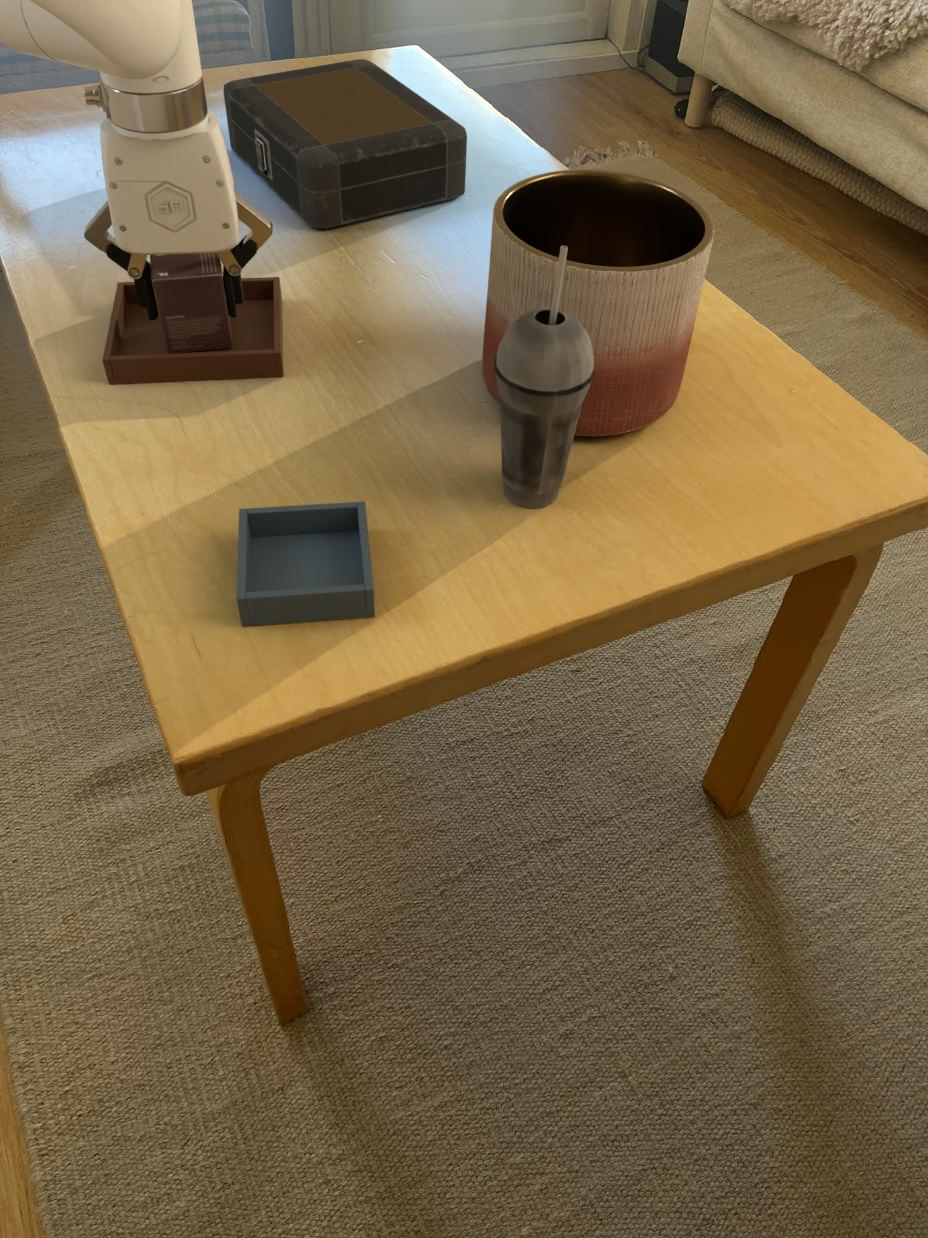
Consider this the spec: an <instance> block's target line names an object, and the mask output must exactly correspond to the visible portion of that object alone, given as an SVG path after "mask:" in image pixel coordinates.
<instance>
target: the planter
mask: <svg viewBox="0 0 928 1238" xmlns="http://www.w3.org/2000/svg"><path fill="white" fill-rule="evenodd" d="M491 221H492V222H491V237H490V238H491V239H490V250H489V251H490V252H489V264H488V267H489V268H488V280H487V293H486V302H485V303H486V304H485V316H484V330H483V344H482V360H481V361H482V362H481V363H482V377H483V381H484V384H485V387H486V389H487V391H488V392H489V394H490V395H491V397H492V398H493V399H494V400H495V401H496V402H497V403H498V404H499V405H500V394H499V392H498V386H497V377H496V372H495V370H494V360H495V357H496V355H497V351H498V347H499V344H500V341H501V340H502V338H503V336H504V334H505V332H506V331H507V329H508V328H509V326H510V325H511V324H512V323H513V322H514V321H515V320H516V319H518V318H519V317H520V316H522V315H523V314H525V313H527V312H529V311H532V310H535V309H541V308H551V305H552V299H553V292H554V286H555V280H556V274H557V267H558V261H559V255H560V248H561V246H567V247H568V250H567V257H566V263H565V269H564V275H563V281H562V288H561V294H560V300H559V306H558V310H561V311H563V312H566V313H568V314H570V315H571V316H573V317H574V318H575V319H576V320H578V321H579V322H580V324H581V325H582V326H583V328H584V329H585V331H586V332H587V333H588V336H589V338H590V340H591V344H592V349H593V357H594V370H595V375H594V377H593V379H592V381H591V383H590V386H589V389H588V391H587V394H586V396H585V399H584V401H583V403H582V406H581V410H580V414H579V418H578V422H577V426H576V430H575V434H574V437H586V438H595V437H610V436H616V435H617V436H618V435H622V434H626V433H630V432H633V431H637V430H639V429H643V428H645V427H647V426H649V425H652V424H653V423H656V422H657V421H658V420H660V419H661V418H662V417H663V416H665V415H666V414H667V413H668V412H669V411H670V410H671V408H672V407H673V406H674V404H675V402H676V401H677V398H678V396H679V393H680V390H681V386H682V382H683V379H684V375H685V370H686V365H687V361H688V356H689V352H690V347H691V342H692V338H693V333H694V329H695V328H694V327H695V325H696V324H695V323H696V318H697V314H698V309H699V304H700V301H701V296H702V292H703V288H704V282H705V278H706V274H707V269H708V264H709V260H710V256H711V252H712V249H713V242H714V238H715V224H714V221H713V219H712V217H711V215H710V213H709V212H708V211H707V209H706V208H705V207H704V206H703V205H702V204H701V203H700V202H699V201H698V200H697V199H695V198H693V197H692V196H690V195H689V194H687V193H685V192H684V191H683V190H680V189H678V188H676V187H674V186H672V185H669V184H668V183H665V182H662V181H659V180H656V179H653V178H650V177H646V176H643V175H638V174H634V173H630V172H623V171H616V170H608V169H596V168H595V169H594V168H593V169H592V168H579V169H577V168H576V169H564V170H556V171H549V172H545V173H539V174H536V175H533V176H530V177H526V178H524V179H522V180H520V181H517V182H515V183H514V184H512V185H510V186H508V188H506V189H505V190H504V191H503V192H502V193H500V195H499V196H498V198H497V199H496V200H495V203H494V206H493V210H492V220H491Z"/></svg>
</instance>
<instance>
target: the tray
mask: <svg viewBox="0 0 928 1238" xmlns="http://www.w3.org/2000/svg"><path fill="white" fill-rule="evenodd" d="M241 280H242V287H243V295H244V303H243V304H237V317H232V318H231V316H229V319H230V326H231V332H232V341H233V346H232V347H230V348H223V349H211V350H201V351H191V352H183V353H172V354H169V353H167V351H166V347H165V342H164V337H163V332H162V328H161V324H160V319H159V314H158V319H156V320H149V317H148V312H147V308H146V307H140V305H139V300H138V296H137V291H136V287H135V282H134V281H117V284H116V290H115V294H114V298H113V304H112V310H111V316H110V319H109V325H108V330H107V336H106V341H105V345H104V350H103V355H102V364H103V368H104V371H105V375H106V379H107V384H108V385H123V384H124V385H125V384H145V383H146V384H147V383H149V384H150V383H169V382H172V383H173V382H190V381H191V382H193V381H194V382H195V381H217V380H237V379H239V380H240V379H258V378H259V379H260V378H262V379H263V378H283V377H284V329H283V328H284V326H283V296H282V287H281V278H280V276H270V277H269V276H268V277H241Z"/></svg>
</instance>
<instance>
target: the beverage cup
mask: <svg viewBox="0 0 928 1238" xmlns="http://www.w3.org/2000/svg"><path fill="white" fill-rule="evenodd" d="M567 250H568V247H567V246H561V248H560V255H559V261H558V267H557V274H556V280H555V286H554V292H553V299H552V305H551V308H541V309H535V310H532V311H529V312H527V313H525V314H523V315H522V316H520V317H519V318H518V319H516V320H515V321H514V322H513V323H512V324H511V325H510V326H509V328H508V329H507V331H506V332H505V334H504V336H503V338H502V340H501V341H500V344H499V347H498V351H497V355H496V357H495V360H494V370H495V372H496V377H497V386H498V392H499V394H500V404H499V405H500V408H499V409H500V412H499V413H500V446H501V447H500V454H501V457H500V458H501V461H500V462H501V478H502V492H503V495H504V496H505V498H506V499H507V500H508V501H509V502H510V503H512V504H514V505H516V506H518V507H521V508H525V509H540V508H544V507H548V506H549V505H552V504H553V503H554V502H555V501H556V500H557V499H558V496H559V494H560V489H561V485H562V482H563V480H564V478H565V473H566V470H567V465H568V461H569V457H570V454H571V450H572V446H573V442H574V438H575V436H574V434H575V430H576V426H577V422H578V418H579V414H580V410H581V406H582V403H583V401H584V399H585V396H586V394H587V391H588V389H589V386H590V383H591V381H592V379H593V377H594V375H595V370H594V357H593V349H592V344H591V340H590V338H589V336H588V333H587V332H586V331H585V329H584V328H583V326H582V325H581V324H580V322H579V321H578V320H576V319H575V318H574V317H573V316H571V315H570V314H568V313H566V312H563V311H561V310H558V306H559V300H560V294H561V288H562V281H563V275H564V269H565V263H566V257H567Z"/></svg>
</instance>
